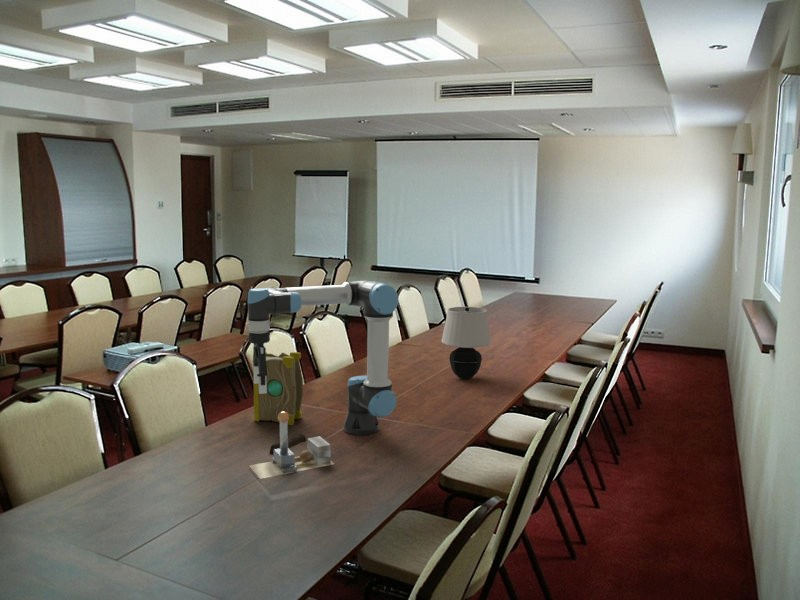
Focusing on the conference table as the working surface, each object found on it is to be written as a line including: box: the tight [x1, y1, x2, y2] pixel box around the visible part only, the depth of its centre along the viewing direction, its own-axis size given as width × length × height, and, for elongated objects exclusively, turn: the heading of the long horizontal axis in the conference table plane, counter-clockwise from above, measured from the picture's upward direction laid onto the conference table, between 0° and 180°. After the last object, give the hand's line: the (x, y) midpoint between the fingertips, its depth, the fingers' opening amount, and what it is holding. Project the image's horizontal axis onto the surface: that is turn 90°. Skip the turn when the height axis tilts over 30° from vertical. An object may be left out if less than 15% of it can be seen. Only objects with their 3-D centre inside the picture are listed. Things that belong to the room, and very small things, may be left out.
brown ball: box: [299, 449, 312, 462], centre depth 244 cm, size 4×4×4 cm
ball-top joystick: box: [271, 411, 297, 473], centre depth 239 cm, size 5×12×20 cm, turn 30°
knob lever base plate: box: [248, 435, 335, 484], centre depth 242 cm, size 28×13×8 cm, turn 120°
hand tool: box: [269, 433, 307, 455], centre depth 260 cm, size 19×4×5 cm, turn 145°
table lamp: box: [440, 306, 492, 381], centre depth 365 cm, size 27×27×40 cm
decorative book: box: [252, 351, 304, 426], centre depth 293 cm, size 20×11×30 cm, turn 77°
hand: (260, 388), depth 244 cm, fingers open, 13 cm apart
